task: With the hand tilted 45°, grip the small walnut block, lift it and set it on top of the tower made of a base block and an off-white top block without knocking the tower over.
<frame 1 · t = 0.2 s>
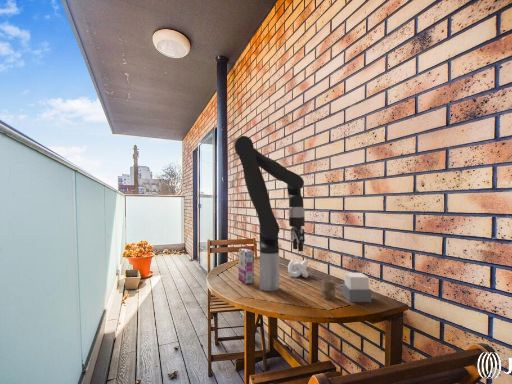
hand: (297, 250, 121), 18 cm above the table, tool pointing down, fingers open, 8 cm apart
candy bar box: (246, 281, 132), on the table
tower base block: (356, 298, 107), on the table, touching tower top block
tower top block: (356, 286, 108), point 5 cm above the table, touching tower base block
walnut block: (328, 297, 108), on the table
white knot sculpture: (297, 276, 142), on the table
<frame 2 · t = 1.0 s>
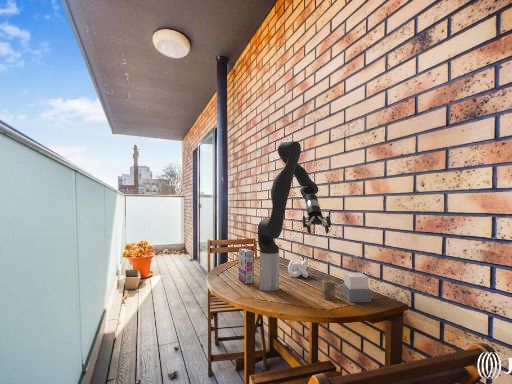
hand: (318, 232, 125), 26 cm above the table, tool tilted 45°, fingers open, 8 cm apart
nothing on the table moved.
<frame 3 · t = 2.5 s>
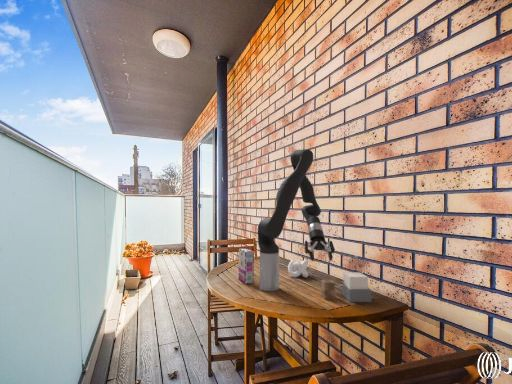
hand: (321, 259, 119), 14 cm above the table, tool tilted 45°, fingers open, 8 cm apart
nothing on the table moved.
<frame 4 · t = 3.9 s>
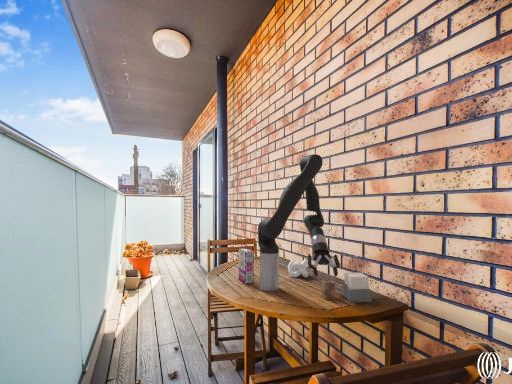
hand: (326, 275, 111), 8 cm above the table, tool tilted 45°, fingers open, 8 cm apart
nothing on the table moved.
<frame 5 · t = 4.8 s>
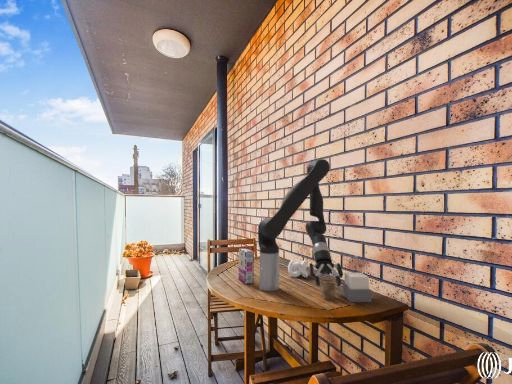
hand: (328, 285, 107), 5 cm above the table, tool tilted 45°, fingers open, 8 cm apart
nothing on the table moved.
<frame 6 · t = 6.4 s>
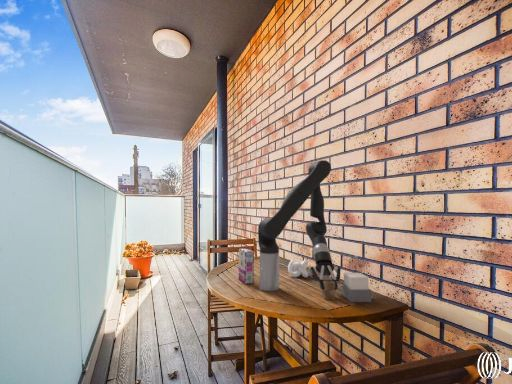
hand: (329, 289, 106), 4 cm above the table, tool tilted 45°, fingers closed on walnut block, 4 cm apart
walnut block: (328, 297, 108), on the table, touching gripper
everything else where it was.
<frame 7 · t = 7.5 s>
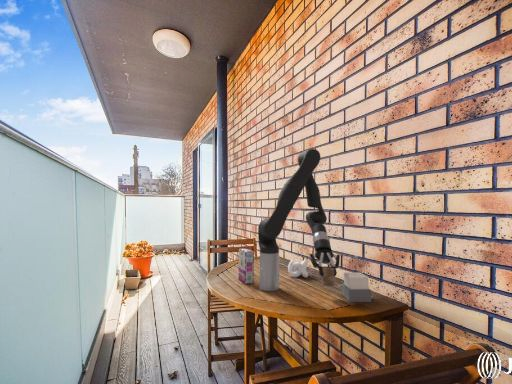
hand: (328, 275, 106), 10 cm above the table, tool tilted 45°, fingers closed on walnut block, 4 cm apart
walnut block: (327, 284, 108), point 6 cm above the table, touching gripper
everything else where it was.
when the fingers open (16 cm above the table, at t = 12.0 s): walnut block drops 2 cm, resting on tower top block.
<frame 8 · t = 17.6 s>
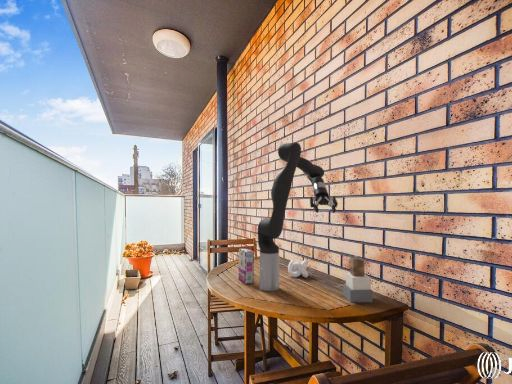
hand: (325, 211, 131), 37 cm above the table, tool tilted 45°, fingers open, 8 cm apart
tower base block: (357, 298, 107), on the table
tower top block: (358, 286, 107), point 5 cm above the table, touching walnut block
walnut block: (357, 274, 108), point 10 cm above the table, touching tower top block
everything else where it was.
at the end: walnut block 0.2 cm off-centre on the tower top block, point 5.0 cm above the tower top block's base; tower top block 0.4 cm off-centre on the tower base block, point 5.0 cm above the tower base block's base; walnut block tilted 0° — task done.
